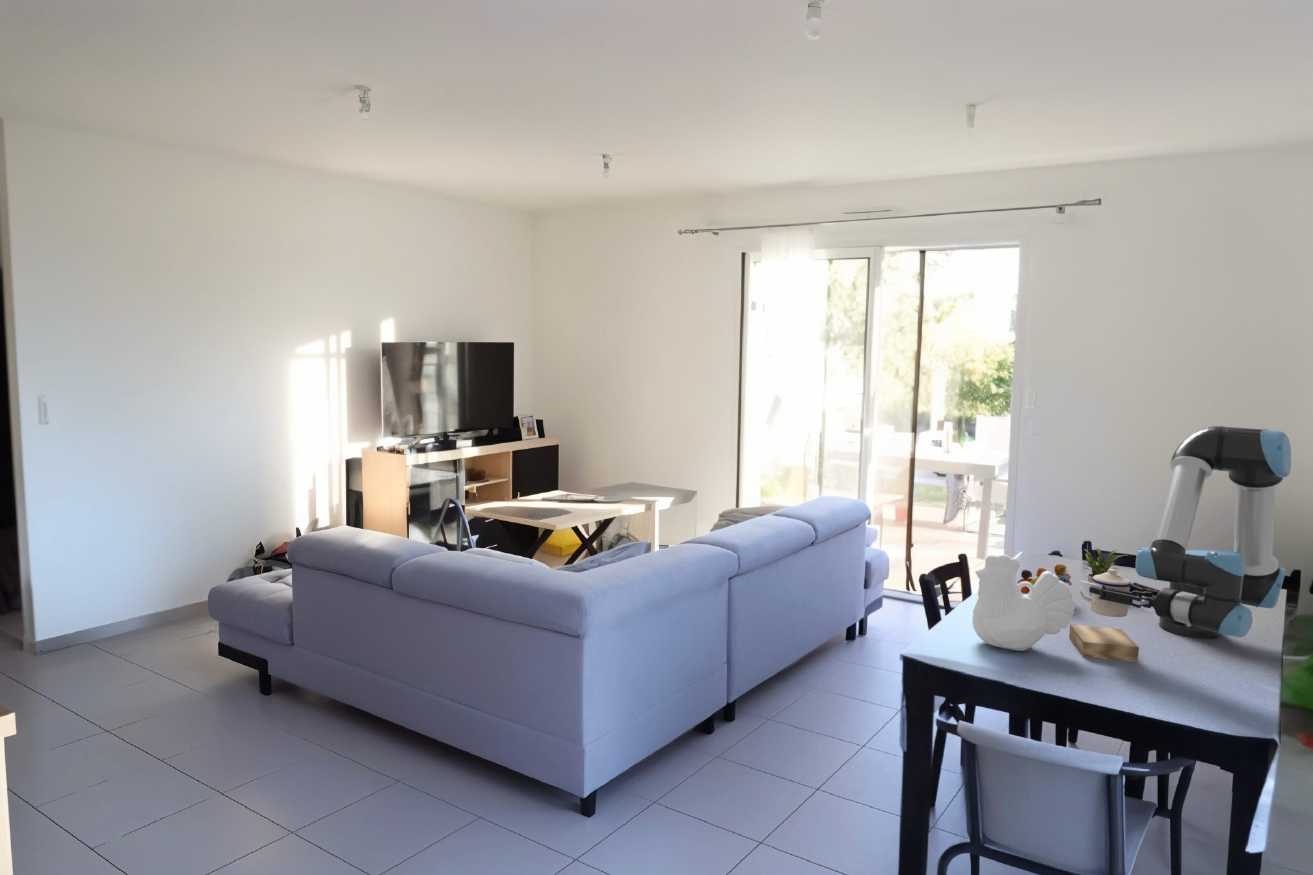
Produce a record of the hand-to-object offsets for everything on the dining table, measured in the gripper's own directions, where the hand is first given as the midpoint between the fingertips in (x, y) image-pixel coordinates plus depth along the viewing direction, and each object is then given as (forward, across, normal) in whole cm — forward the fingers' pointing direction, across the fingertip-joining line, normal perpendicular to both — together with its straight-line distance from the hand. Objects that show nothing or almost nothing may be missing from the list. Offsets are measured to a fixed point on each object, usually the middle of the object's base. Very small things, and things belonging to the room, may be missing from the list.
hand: (1090, 583), depth 231 cm
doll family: (+27, +25, -17) cm, 41 cm away
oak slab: (-4, 0, -17) cm, 18 cm away
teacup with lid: (-4, -1, -7) cm, 8 cm away
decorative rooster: (+6, -19, -17) cm, 27 cm away
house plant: (+27, +53, -17) cm, 61 cm away
